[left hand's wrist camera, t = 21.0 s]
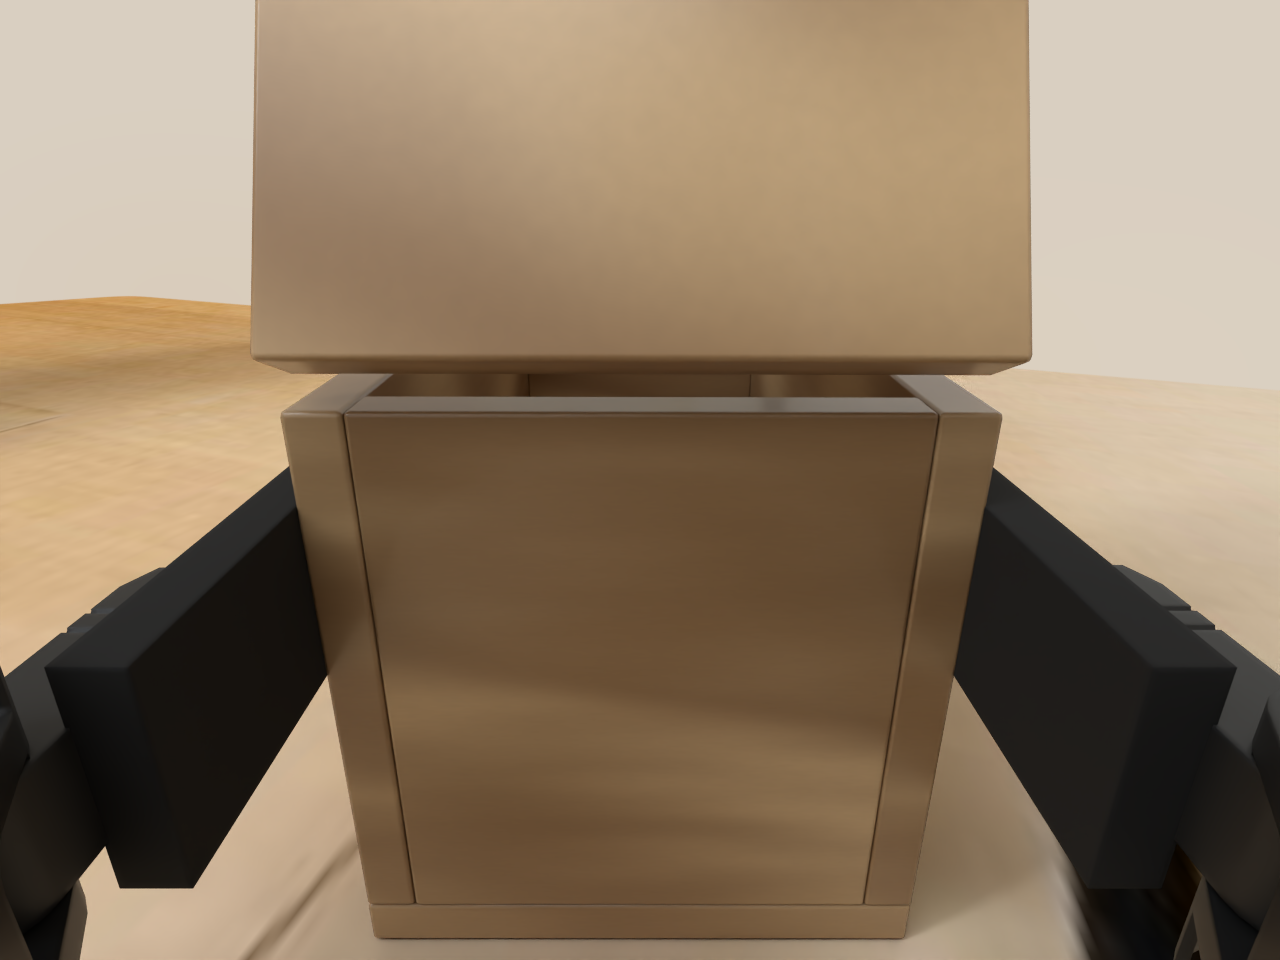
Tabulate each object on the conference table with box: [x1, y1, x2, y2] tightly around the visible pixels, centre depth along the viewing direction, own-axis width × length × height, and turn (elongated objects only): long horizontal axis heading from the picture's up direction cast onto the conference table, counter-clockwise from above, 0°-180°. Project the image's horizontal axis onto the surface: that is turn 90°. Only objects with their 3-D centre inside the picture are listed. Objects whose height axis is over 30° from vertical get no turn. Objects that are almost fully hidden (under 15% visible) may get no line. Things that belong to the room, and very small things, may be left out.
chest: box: [281, 374, 1002, 938], centre depth 19 cm, size 17×9×10 cm, turn 0°
